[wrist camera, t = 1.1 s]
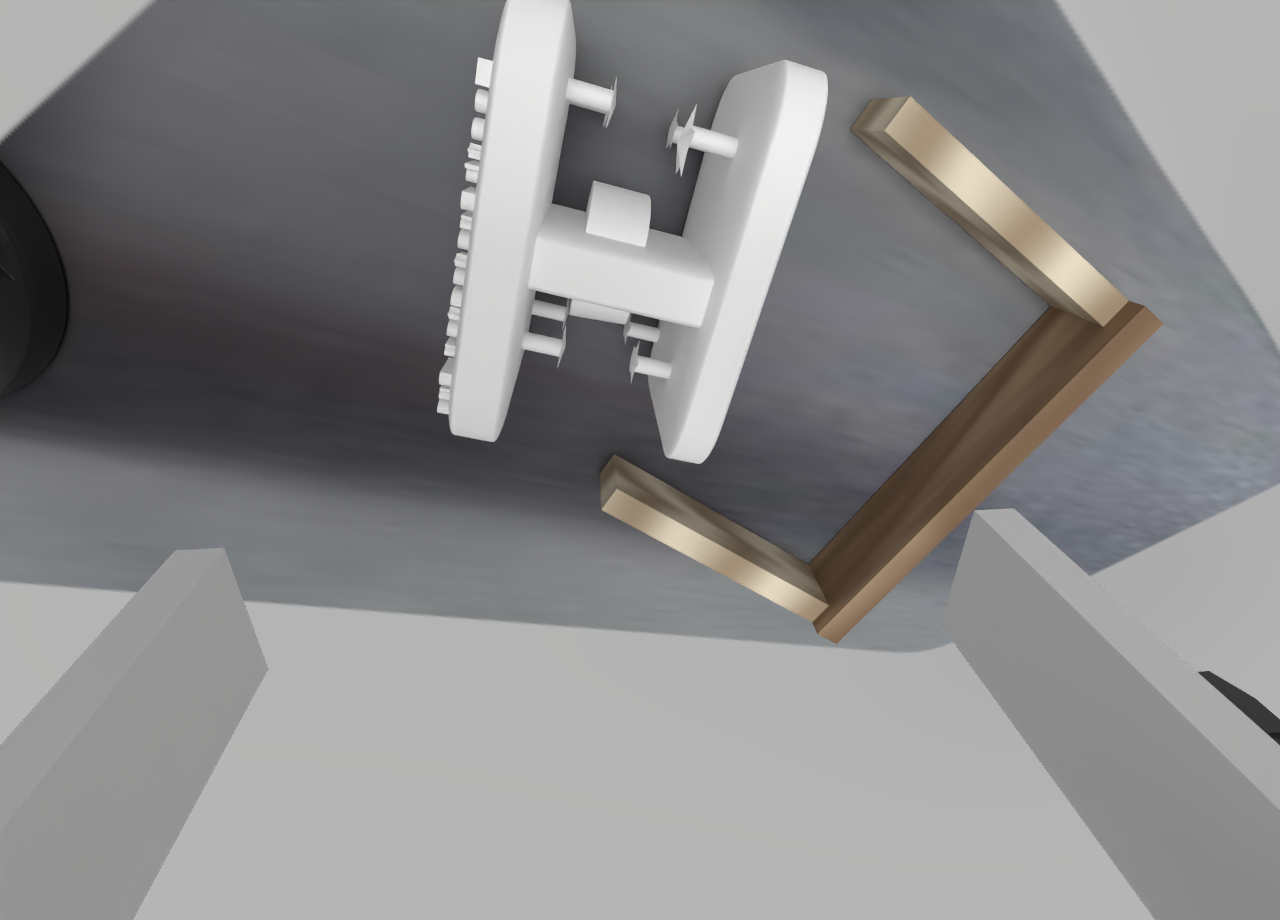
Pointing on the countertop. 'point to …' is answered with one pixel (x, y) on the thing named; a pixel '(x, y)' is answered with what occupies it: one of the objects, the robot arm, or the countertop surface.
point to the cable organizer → (619, 233)
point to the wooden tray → (964, 442)
